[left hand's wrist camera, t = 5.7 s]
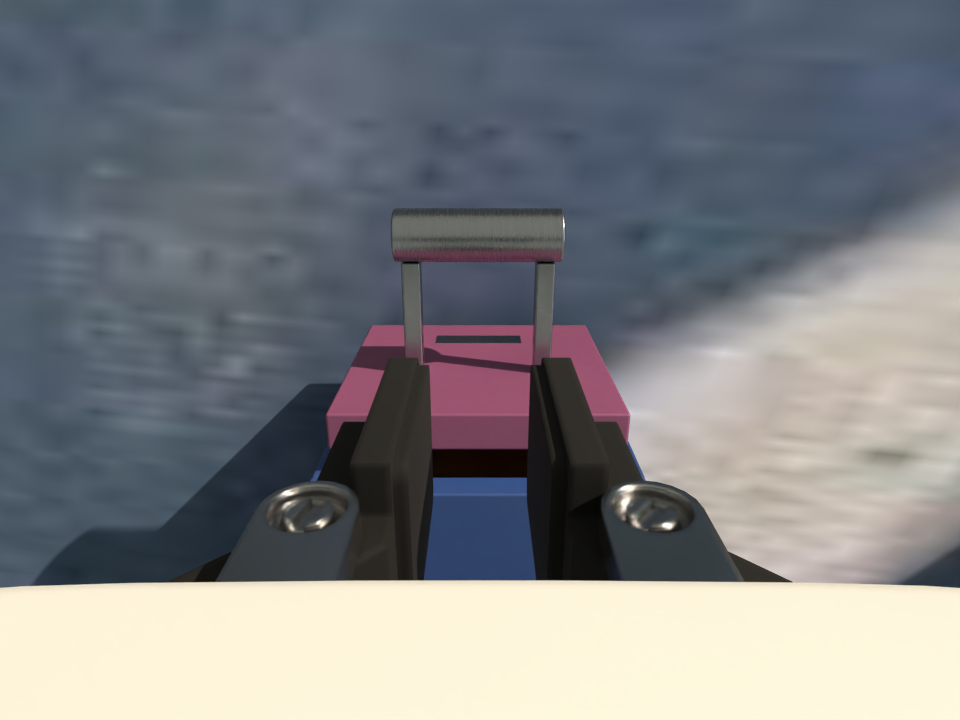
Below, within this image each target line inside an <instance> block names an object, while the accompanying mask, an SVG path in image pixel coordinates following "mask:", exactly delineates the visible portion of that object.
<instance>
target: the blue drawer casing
mask: <svg viewBox="0 0 960 720" xmlns="http://www.w3.org/2000/svg"><path fill="white" fill-rule="evenodd" d="M628 447H629V450H630V452H631V454H632V456H633V459H634V461H635V463H636V465H637V468H638V470H639V472H640V474H641V477H642V479H643V481H646V480H645V478H644V475H643V473H642V470H641V468H640V466H639V464H638V462H637V459H636V457H635V455H634V453H633V451H632V448H631V446H630V444H629V442H628ZM330 450H331V449H329V445H328V444H327V446H326V448H325V450H324V453H323V455H322V457H321V459H320V461H319V463H318V465H317V468H316V470H315V472H314V474H313V476H312V478H311V480H310V481H317V479H318V477H319V474H320V472H321V470H322V468H323V465H324V463H325V461H326V459H327V456H328V454H329V452H330ZM424 580H536V574H535V566H534V557H533V549H532V541H531V532H530V524H529V516H528V508H527V478H433V508H432V516H431V524H430V533H429V541H428V549H427V557H426V566H425V574H424Z"/></svg>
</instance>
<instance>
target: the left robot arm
mask: <svg viewBox="0 0 960 720" xmlns="http://www.w3.org/2000/svg"><path fill="white" fill-rule="evenodd" d="M432 508H433V459H432V427H431V395H430V369H429V365H419V360H418V358H389V360H388V362H387V365H386V368H385V370H384V373H383V376H382V378H381V381H380V384H379V386H378V389H377V392H376V394H375V397H374V400H373V403H372V405H371V408H370V411H369V413H368V416H367V419H366V421H365V422H343V424H342V425H341V427H340V429H339V432H338V434H337V436H336V438H335V441H334V443H333V445H332V447H331V450H330V452H329V454H328V456H327V459H326V461H325V463H324V465H323V468H322V470H321V472H320V474H319V477H318V479H317V481H309V482H302V483H298V484H294V485H290V486H287V487H285V488H282V489H280V490H278V491H275V492H274V493H272V494H271V495H269V496H268V497H267V498H265V499H264V500H263V501H262V502H261V503H260V505H259V506H258V507H257V508H256V510H255V512H254V513H253V515H252V517H251V519H250V521H249V522H248V524H247V526H246V528H245V529H244V531H243V533H242V535H241V537H240V538H239V540H238V542H237V544H236V546H235V547H234V549H233V551H232V552H230V553H228V554H226V555H223V556H221V557H219V558H217V559H215V560H213V561H211V562H209V563H207V564H204V565H202V566H200V567H198V568H196V569H194V570H192V571H190V572H187V573H185V574H183V575H181V576H179V577H177V578H175V579H173V580H171V581H168V582H166V583H115V584H83V585H52V586H21V587H8V588H0V720H960V588H951V587H935V586H913V585H876V584H839V583H794V582H792V581H789V580H787V579H785V578H783V577H781V576H779V575H777V574H775V573H773V572H770V571H768V570H766V569H764V568H762V567H760V566H758V565H756V564H753V563H751V562H749V561H747V560H745V559H743V558H741V557H739V556H737V555H734V554H732V553H730V552H728V551H727V549H726V547H725V546H724V544H723V542H722V540H721V538H720V537H719V535H718V533H717V531H716V529H715V528H714V526H713V524H712V522H711V521H710V519H709V517H708V515H707V513H706V512H705V510H704V508H703V507H702V506H701V505H700V503H699V502H698V501H697V500H696V499H695V498H693V497H692V496H691V495H689V494H688V493H686V492H685V491H682V490H680V489H678V488H675V487H673V486H670V485H666V484H662V483H658V482H651V481H643V479H642V477H641V474H640V472H639V470H638V468H637V465H636V463H635V461H634V459H633V456H632V454H631V452H630V450H629V447H628V445H627V443H626V441H625V438H624V436H623V434H622V432H621V429H620V427H619V425H618V424H617V422H595V421H594V419H593V416H592V413H591V411H590V408H589V405H588V402H587V400H586V397H585V394H584V392H583V389H582V386H581V384H580V381H579V378H578V376H577V373H576V370H575V368H574V365H573V362H572V360H571V358H542V360H541V365H531V369H530V395H529V427H528V459H527V508H528V516H529V524H530V532H531V541H532V549H533V557H534V566H535V574H536V580H424V574H425V566H426V557H427V549H428V541H429V533H430V524H431V516H432Z"/></svg>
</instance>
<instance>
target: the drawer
mask: <svg viewBox="0 0 960 720" xmlns="http://www.w3.org/2000/svg"><path fill="white" fill-rule="evenodd" d="M391 246H392V254H393V258H394V260H395V261H396V262H402V264H401V277H402V299H403V321H404V325H372V326H371V328H370V330H369V332H368V334H367V336H366V338H365V340H364V342H363V343H362V345H361V347H360V349H359V351H358V353H357V355H356V357H355V359H354V361H353V363H352V365H351V367H350V369H349V371H348V373H347V375H346V376H345V378H344V380H343V382H342V384H341V386H340V388H339V390H338V392H337V394H336V396H335V398H334V400H333V402H332V404H331V406H330V407H329V409H328V411H327V413H326V425H327V435H328V445H329V449H331V447H332V445H333V443H334V441H335V438H336V436H337V434H338V432H339V429H340V427H341V425H342V424H343V422H365V421H366V419H367V416H368V413H369V411H370V408H371V405H372V403H373V400H374V397H375V394H376V392H377V389H378V386H379V384H380V381H381V378H382V376H383V373H384V370H385V368H386V365H387V362H388V360H389V358H418V360H419V365H429V369H430V395H431V427H432V459H433V478H527V459H528V427H529V395H530V369H531V365H541V360H542V358H571V360H572V362H573V365H574V368H575V370H576V373H577V376H578V378H579V381H580V384H581V386H582V389H583V392H584V394H585V397H586V400H587V402H588V405H589V408H590V411H591V413H592V416H593V419H594V421H595V422H617V424H618V425H619V427H620V429H621V432H622V434H623V436H624V438H625V441H626V443H627V445H628V434H629V424H630V414H629V412H628V410H627V408H626V406H625V404H624V402H623V400H622V398H621V396H620V394H619V392H618V390H617V388H616V386H615V384H614V382H613V380H612V378H611V376H610V374H609V372H608V370H607V368H606V366H605V364H604V362H603V360H602V358H601V356H600V354H599V352H598V350H597V348H596V346H595V344H594V342H593V340H592V338H591V336H590V334H589V332H588V330H587V328H586V326H585V325H553V306H554V283H555V263H554V262H560V261H562V259H563V255H564V248H565V216H564V211H563V209H561V208H395V209H394V210H393V212H392V217H391ZM421 262H535V285H534V316H533V325H423V303H422V274H421Z"/></svg>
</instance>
